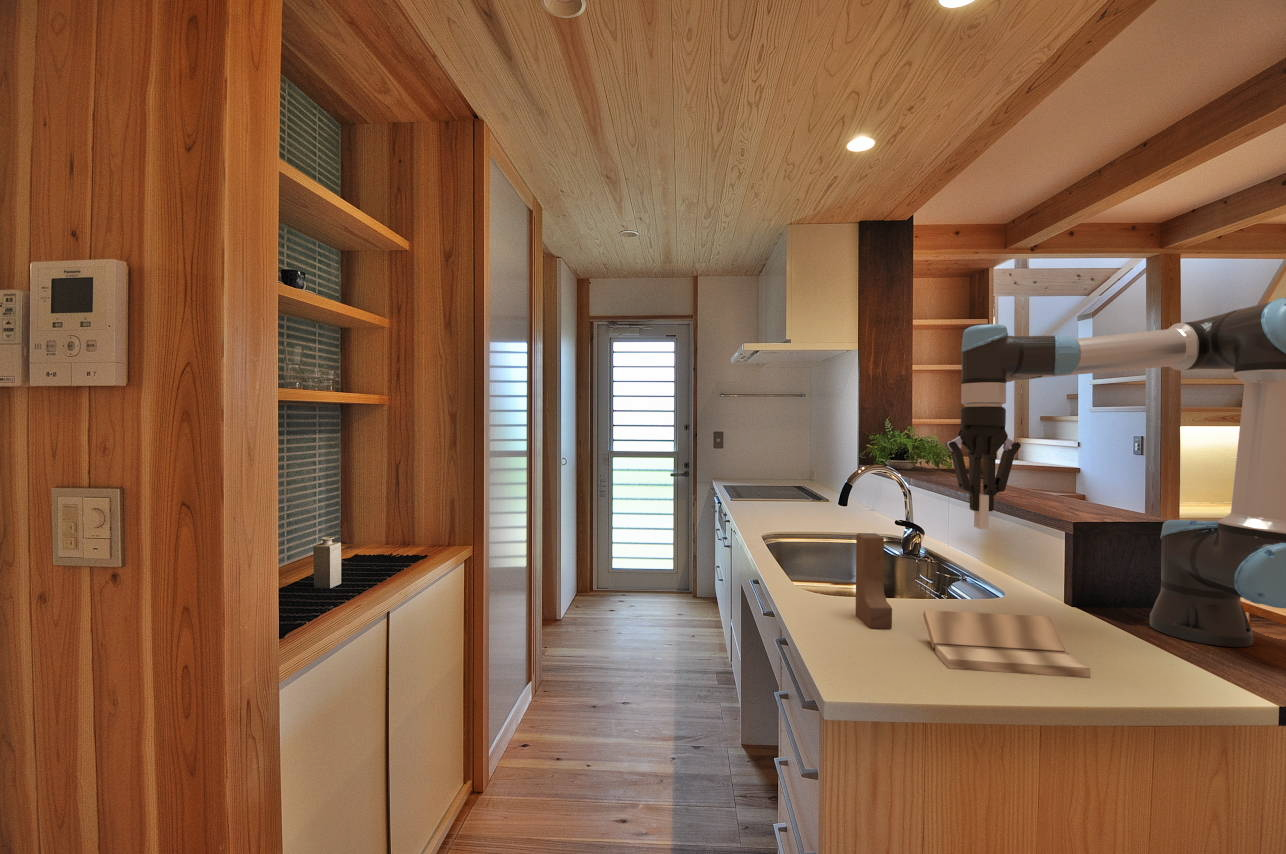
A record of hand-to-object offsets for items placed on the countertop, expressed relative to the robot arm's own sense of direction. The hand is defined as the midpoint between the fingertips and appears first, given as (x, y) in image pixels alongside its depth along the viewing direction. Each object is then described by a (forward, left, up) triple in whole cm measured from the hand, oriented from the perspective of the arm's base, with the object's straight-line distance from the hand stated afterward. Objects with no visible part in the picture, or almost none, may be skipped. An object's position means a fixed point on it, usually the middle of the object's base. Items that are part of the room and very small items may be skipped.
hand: (981, 527), depth 112 cm
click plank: (0, +4, -19) cm, 20 cm away
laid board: (0, +11, -22) cm, 25 cm away
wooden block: (+18, -8, -22) cm, 30 cm away
